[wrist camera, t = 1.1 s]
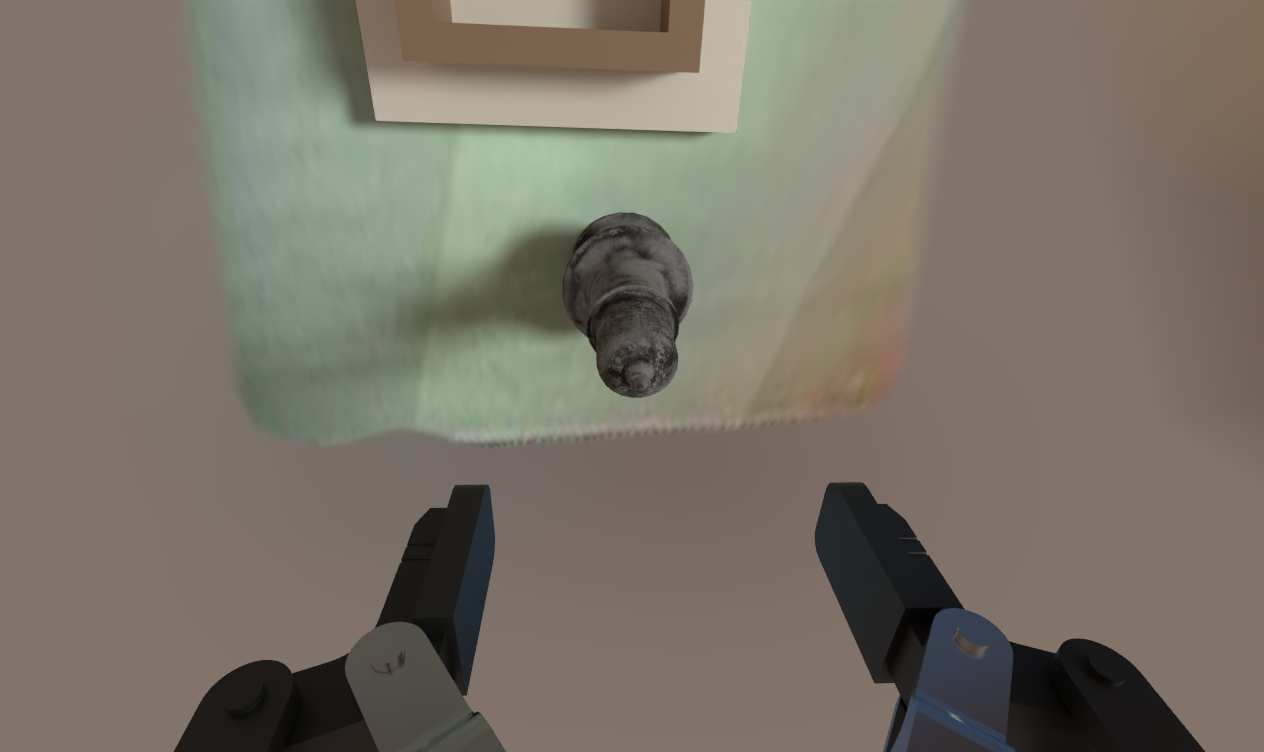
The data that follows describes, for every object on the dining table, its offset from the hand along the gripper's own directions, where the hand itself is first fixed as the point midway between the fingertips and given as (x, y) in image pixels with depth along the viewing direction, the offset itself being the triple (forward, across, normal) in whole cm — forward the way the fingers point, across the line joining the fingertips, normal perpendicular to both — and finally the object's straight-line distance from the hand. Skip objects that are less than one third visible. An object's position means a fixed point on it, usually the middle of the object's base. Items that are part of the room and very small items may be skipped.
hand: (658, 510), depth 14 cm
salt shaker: (+18, 0, 0) cm, 18 cm away
